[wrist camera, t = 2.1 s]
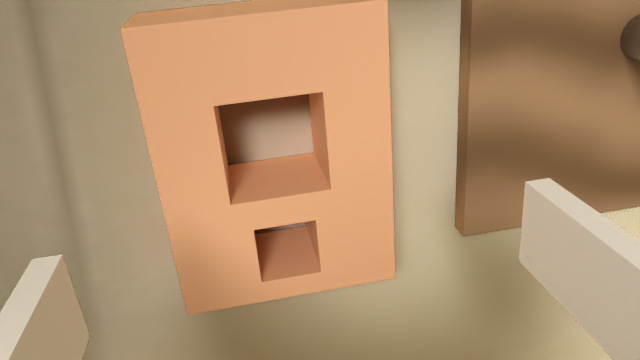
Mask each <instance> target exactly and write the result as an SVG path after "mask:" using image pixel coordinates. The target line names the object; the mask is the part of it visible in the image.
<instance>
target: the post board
mask: <svg viewBox="0 0 640 360" xmlns="http://www.w3.org/2000/svg"><path fill="white" fill-rule="evenodd" d="M545 178H550V179H552V180H553V181H554V182H556V183H557V184H559V185H560V186H562V187H563V188H564V189H566V190H567V191H569V192H570V193H572V194H573V195H574V196H576V197H577V198H579V199H580V200H582V201H583V202H584V203H586V204H587V205H589V206H590V207H592V208H593V209H594V210H596V211H597V212H599V213H603V212H609V211H615V210H621V209H627V208H633V207H638V206H640V0H461V35H460V70H459V106H458V141H457V177H456V212H455V227H456V228H457V229H458V230H459V231H460V233H461V234H462V235H463V236H469V235H475V234H481V233H487V232H493V231H499V230H504V229H510V228H516V227H522V215H523V202H524V190H525V182H526V181H533V180H539V179H545Z"/></svg>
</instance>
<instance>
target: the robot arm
mask: <svg viewBox="0 0 640 360" xmlns="http://www.w3.org/2000/svg"><path fill="white" fill-rule="evenodd" d="M519 261H520V262H521V264H522V265H523V266H524V267H525V268H526V269H527V270H528V271H529V272H530V273H531V274H532V275H533V276H534V277H535V278H536V279H537V280H538V281H539V282H540V283H541V284H542V286H543V287H544V288H545V289H546V290H547V291H548V292H549V293H550V294H551V295H552V296H553V297H554V298H555V299H556V300H557V301H558V302H559V303H560V304H561V305H562V306H563V308H564V309H565V310H566V311H567V312H568V313H569V314H570V315H571V316H572V317H573V318H574V319H575V320H576V321H577V322H578V323H579V324H580V325H581V326H582V327H583V329H584V330H585V331H586V332H587V333H588V334H589V335H590V336H591V337H592V338H593V339H594V340H595V341H596V342H597V343H598V344H599V345H600V346H601V347H602V348H603V349H604V351H605V352H606V353H607V354H608V355H609V356H610V357H611V358H612V359H613V360H640V241H639V240H637V239H636V238H634V237H633V236H632V235H630V234H629V233H627V232H626V231H624V230H623V229H622V228H620V227H619V226H617V225H616V224H614V223H613V222H612V221H610V220H609V219H607V218H606V217H604V216H603V215H602V214H600V213H599V212H597V211H596V210H594V209H593V208H592V207H590V206H589V205H587V204H586V203H584V202H583V201H582V200H580V199H579V198H577V197H576V196H574V195H573V194H572V193H570V192H569V191H567V190H566V189H564V188H563V187H562V186H560V185H559V184H557V183H556V182H554V181H553V180H552V179H550V178H545V179H539V180H533V181H526V182H525V190H524V202H523V215H522V227H521V239H520V252H519ZM89 337H90V335H89V332H88V329H87V326H86V323H85V320H84V317H83V314H82V311H81V308H80V305H79V302H78V299H77V296H76V293H75V290H74V287H73V284H72V281H71V278H70V275H69V272H68V269H67V266H66V263H65V260H64V257H63V254H61V255H55V256H48V257H42V258H35V259H32V260H31V262H30V264H29V265H28V267H27V269H26V270H25V272H24V274H23V275H22V277H21V279H20V280H19V282H18V284H17V285H16V287H15V289H14V290H13V292H12V294H11V295H10V297H9V299H8V300H7V302H6V304H5V305H4V307H3V309H2V310H1V312H0V360H82V358H83V355H84V352H85V349H86V346H87V343H88V340H89Z"/></svg>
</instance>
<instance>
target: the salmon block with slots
mask: <svg viewBox="0 0 640 360" xmlns="http://www.w3.org/2000/svg"><path fill="white" fill-rule="evenodd" d="M120 31H121V35H122V39H123V44H124V48H125V52H126V56H127V61H128V65H129V69H130V73H131V78H132V82H133V86H134V90H135V95H136V99H137V103H138V107H139V112H140V116H141V120H142V124H143V129H144V133H145V137H146V141H147V146H148V150H149V154H150V158H151V163H152V167H153V171H154V175H155V180H156V184H157V188H158V192H159V196H160V201H161V205H162V209H163V213H164V218H165V222H166V226H167V230H168V235H169V239H170V243H171V247H172V252H173V256H174V260H175V264H176V269H177V273H178V277H179V281H180V286H181V290H182V294H183V298H184V303H185V307H186V311H187V315H192V314H198V313H203V312H209V311H215V310H220V309H226V308H231V307H237V306H242V305H248V304H254V303H259V302H265V301H270V300H276V299H282V298H287V297H293V296H298V295H304V294H310V293H315V292H321V291H326V290H332V289H337V288H343V287H349V286H354V285H360V284H365V283H371V282H377V281H382V280H388V279H393V278H395V249H394V213H393V177H392V141H391V105H390V69H389V33H388V0H254V1H244V2H235V3H225V4H216V5H207V6H197V7H188V8H179V9H169V10H160V11H151V12H141V13H136V14H135V15H134V16H133V17H132V18H131V19H129V20H128V21H127V22H126V23H125V24H124V25H123V26H122V27H121V28H120ZM303 94H308V96H309V106H310V117H311V127H312V138H313V148H314V153H308V154H301V155H294V156H288V157H281V158H274V159H267V160H260V161H253V162H246V163H239V164H232V165H228V162H227V156H226V150H225V144H224V138H223V132H222V126H221V120H220V115H219V109H218V106H219V105H227V104H234V103H242V102H250V101H257V100H265V99H273V98H280V97H288V96H296V95H303ZM301 222H306V226H303V227H297V228H290V229H284V230H278V231H272V232H266V233H260V234H255V231H254V230H258V229H264V228H270V227H277V226H283V225H289V224H295V223H301Z"/></svg>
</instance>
